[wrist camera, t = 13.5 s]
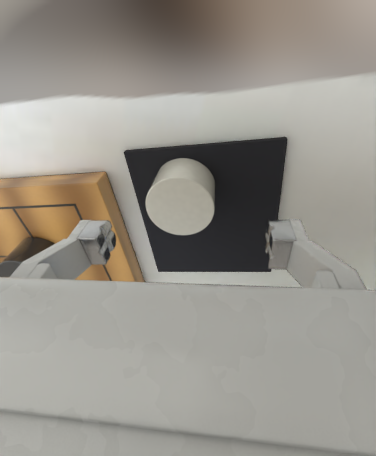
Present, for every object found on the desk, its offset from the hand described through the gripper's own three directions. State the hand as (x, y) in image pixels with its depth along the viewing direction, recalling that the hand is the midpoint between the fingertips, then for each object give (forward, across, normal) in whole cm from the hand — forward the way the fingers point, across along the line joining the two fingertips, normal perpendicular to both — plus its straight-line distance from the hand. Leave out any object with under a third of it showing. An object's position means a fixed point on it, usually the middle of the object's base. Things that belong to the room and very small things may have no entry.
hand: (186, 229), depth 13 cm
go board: (+7, +15, +10) cm, 19 cm away
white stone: (+6, +1, +1) cm, 7 cm away
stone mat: (+7, -1, +4) cm, 8 cm away
